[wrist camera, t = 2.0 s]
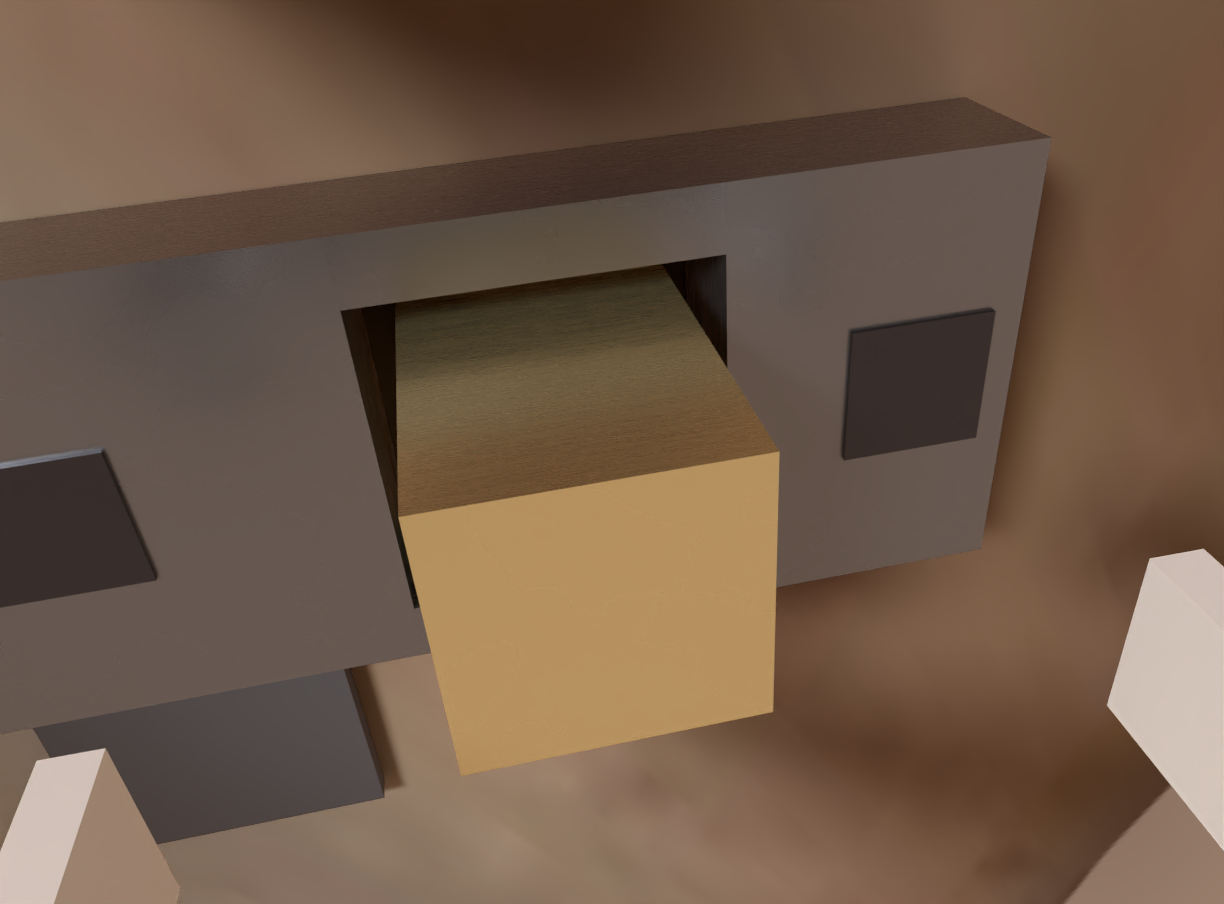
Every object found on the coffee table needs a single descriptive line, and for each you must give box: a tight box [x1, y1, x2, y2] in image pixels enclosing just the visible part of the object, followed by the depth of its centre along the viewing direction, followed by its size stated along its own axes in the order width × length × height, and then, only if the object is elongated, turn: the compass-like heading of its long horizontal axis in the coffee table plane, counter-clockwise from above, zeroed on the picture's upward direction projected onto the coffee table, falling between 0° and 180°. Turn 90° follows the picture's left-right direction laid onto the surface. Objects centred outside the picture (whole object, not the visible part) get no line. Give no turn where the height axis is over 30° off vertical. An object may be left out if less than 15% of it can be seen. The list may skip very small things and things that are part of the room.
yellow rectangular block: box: [395, 264, 780, 776], centre depth 17 cm, size 5×5×8 cm
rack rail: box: [0, 98, 1051, 734], centre depth 19 cm, size 22×9×3 cm, turn 94°
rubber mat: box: [33, 668, 384, 844], centre depth 24 cm, size 7×7×1 cm
